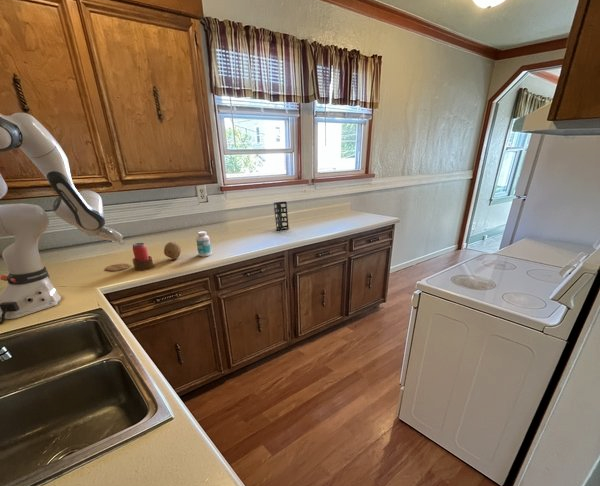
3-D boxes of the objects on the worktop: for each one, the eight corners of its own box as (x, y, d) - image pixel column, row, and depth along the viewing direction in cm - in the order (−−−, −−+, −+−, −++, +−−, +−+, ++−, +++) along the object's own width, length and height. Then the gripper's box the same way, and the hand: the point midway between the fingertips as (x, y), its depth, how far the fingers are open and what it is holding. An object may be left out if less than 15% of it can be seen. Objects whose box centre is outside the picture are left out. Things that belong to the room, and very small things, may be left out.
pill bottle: (196, 255, 194) (192, 232, 187) (207, 252, 198) (204, 230, 192) (202, 257, 189) (199, 234, 183) (214, 254, 194) (210, 232, 187)
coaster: (116, 272, 168) (115, 271, 168) (101, 269, 172) (101, 268, 172) (133, 266, 177) (133, 265, 177) (119, 263, 181) (118, 262, 181)
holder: (279, 230, 247) (277, 202, 239) (273, 229, 252) (270, 202, 244) (290, 228, 253) (288, 201, 245) (284, 227, 259) (282, 201, 251)
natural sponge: (170, 263, 181) (166, 245, 176) (162, 259, 186) (159, 242, 182) (185, 259, 187) (182, 242, 182) (177, 256, 192) (174, 239, 187)
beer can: (145, 268, 171) (140, 246, 165) (134, 268, 172) (128, 245, 167) (153, 264, 177) (148, 242, 171) (142, 264, 178) (136, 242, 172)
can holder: (143, 271, 169) (141, 262, 167) (130, 269, 173) (128, 259, 170) (157, 265, 177) (155, 256, 174) (144, 263, 180) (142, 255, 178)
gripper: (108, 222, 142) (134, 239, 154) (83, 217, 152) (109, 234, 164) (101, 234, 141) (128, 250, 153) (76, 229, 151) (103, 244, 163)
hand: (118, 242), depth 159 cm, fingers open, 8 cm apart
